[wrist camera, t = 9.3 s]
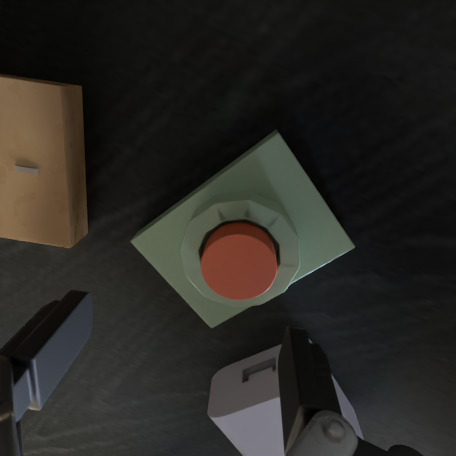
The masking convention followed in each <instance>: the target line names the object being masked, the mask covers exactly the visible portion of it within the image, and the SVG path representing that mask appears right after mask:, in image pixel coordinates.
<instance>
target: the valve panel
mask: <svg viewBox="0 0 456 456" xmlns="http://www.w3.org/2000/svg"><path fill="white" fill-rule="evenodd" d="M87 233H88V222H87V198H86V174H85V149H84V125H83V101H82V86H78V85H72V84H65V83H59V82H52V81H46V80H39V79H33V78H26V77H20V76H13V75H7V74H0V237H3V238H9V239H16V240H22V241H28V242H35V243H41V244H48V245H54V246H61V247H67V248H71V247H72V246H74V245H75V244H76V243H77V242H78V241H79V240H80V239H82V238H83V237H84V236H85V235H86V234H87Z"/></svg>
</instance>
